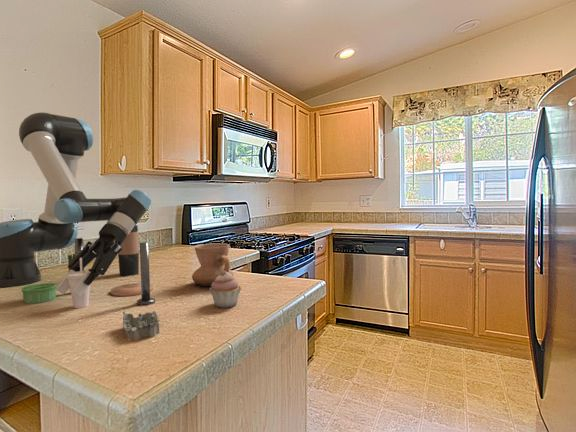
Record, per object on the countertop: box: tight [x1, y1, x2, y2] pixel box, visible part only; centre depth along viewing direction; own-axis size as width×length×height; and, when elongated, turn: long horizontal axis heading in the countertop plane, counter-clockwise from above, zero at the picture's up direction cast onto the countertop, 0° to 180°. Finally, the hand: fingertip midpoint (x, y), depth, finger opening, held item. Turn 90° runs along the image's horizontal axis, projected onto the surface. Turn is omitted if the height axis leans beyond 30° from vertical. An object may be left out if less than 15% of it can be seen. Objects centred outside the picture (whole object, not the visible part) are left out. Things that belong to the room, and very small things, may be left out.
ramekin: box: [21, 282, 58, 305], centre depth 107 cm, size 9×9×4 cm
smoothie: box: [66, 258, 91, 309], centre depth 100 cm, size 6×6×14 cm
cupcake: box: [208, 271, 242, 309], centre depth 100 cm, size 9×9×10 cm
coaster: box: [110, 282, 154, 297], centre depth 117 cm, size 13×13×1 cm
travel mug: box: [117, 224, 140, 277], centre depth 142 cm, size 8×8×20 cm
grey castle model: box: [122, 310, 161, 341], centre depth 81 cm, size 11×8×4 cm
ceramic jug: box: [191, 242, 234, 287], centre depth 124 cm, size 18×14×14 cm
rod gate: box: [74, 237, 156, 306], centre depth 109 cm, size 35×5×18 cm, turn 65°
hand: (68, 292), depth 97 cm, fingers open, 6 cm apart
